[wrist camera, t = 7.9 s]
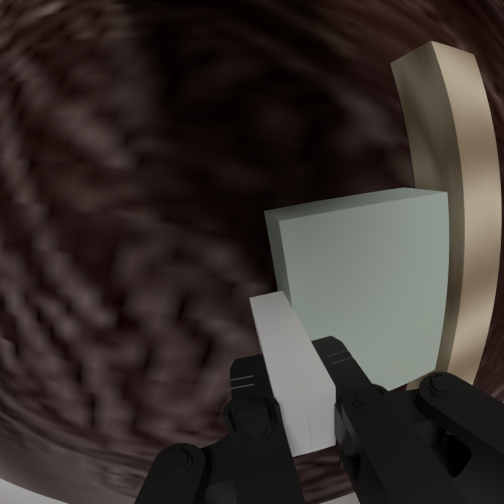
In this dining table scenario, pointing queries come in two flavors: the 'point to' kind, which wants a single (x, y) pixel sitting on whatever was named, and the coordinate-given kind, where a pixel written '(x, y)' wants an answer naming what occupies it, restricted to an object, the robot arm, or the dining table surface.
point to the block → (368, 276)
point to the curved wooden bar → (456, 189)
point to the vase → (182, 1)
